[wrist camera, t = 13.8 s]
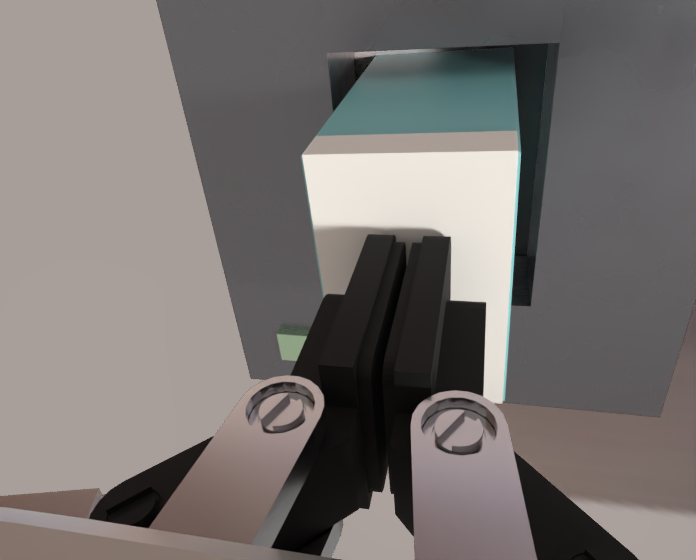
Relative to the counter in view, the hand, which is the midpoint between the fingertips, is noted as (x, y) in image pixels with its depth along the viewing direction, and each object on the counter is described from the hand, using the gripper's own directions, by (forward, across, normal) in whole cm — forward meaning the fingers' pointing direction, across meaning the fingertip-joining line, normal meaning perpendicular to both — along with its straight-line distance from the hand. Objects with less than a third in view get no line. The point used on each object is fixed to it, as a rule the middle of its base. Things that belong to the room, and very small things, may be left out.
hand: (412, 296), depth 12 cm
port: (+8, 0, 0) cm, 8 cm away
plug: (+8, 0, 0) cm, 8 cm away
